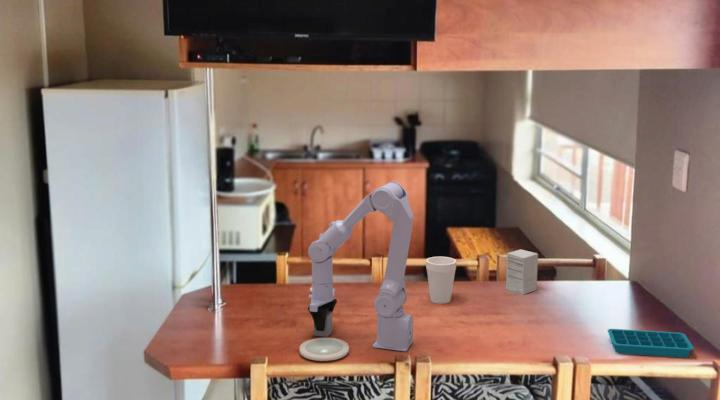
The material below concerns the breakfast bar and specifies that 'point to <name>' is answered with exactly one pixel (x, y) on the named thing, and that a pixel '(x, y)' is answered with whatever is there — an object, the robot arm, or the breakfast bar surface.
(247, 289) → the breakfast bar surface
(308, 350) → the dish
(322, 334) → the block
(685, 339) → the ice cube tray
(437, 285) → the foam cup
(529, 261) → the supplement box
